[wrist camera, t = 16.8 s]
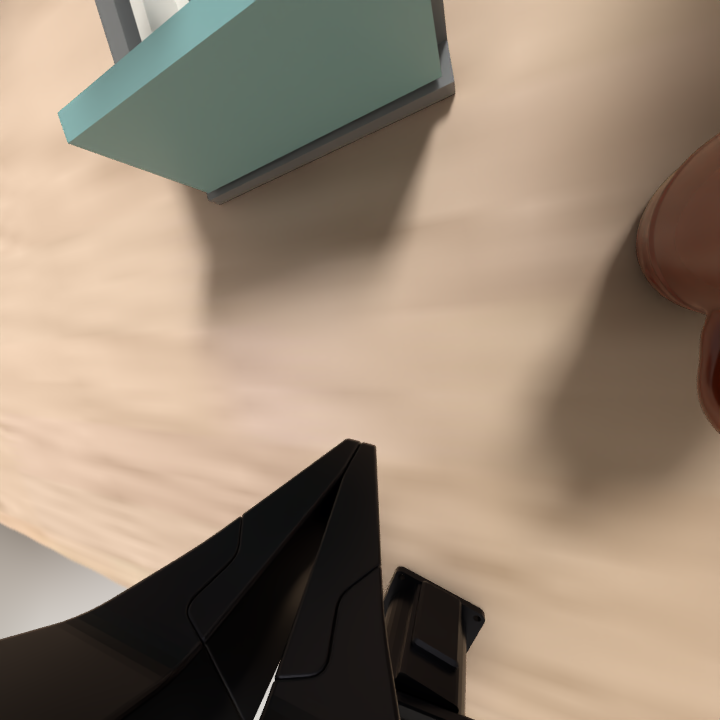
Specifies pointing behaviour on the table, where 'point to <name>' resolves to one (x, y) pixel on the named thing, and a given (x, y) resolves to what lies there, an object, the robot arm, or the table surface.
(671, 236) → the mug
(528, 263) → the table surface
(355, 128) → the grey storage bin
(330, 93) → the white drawer
